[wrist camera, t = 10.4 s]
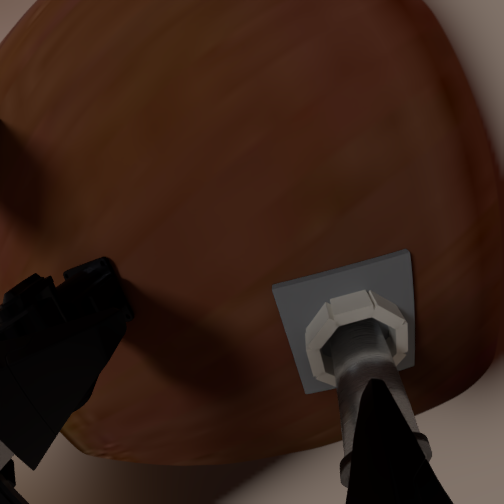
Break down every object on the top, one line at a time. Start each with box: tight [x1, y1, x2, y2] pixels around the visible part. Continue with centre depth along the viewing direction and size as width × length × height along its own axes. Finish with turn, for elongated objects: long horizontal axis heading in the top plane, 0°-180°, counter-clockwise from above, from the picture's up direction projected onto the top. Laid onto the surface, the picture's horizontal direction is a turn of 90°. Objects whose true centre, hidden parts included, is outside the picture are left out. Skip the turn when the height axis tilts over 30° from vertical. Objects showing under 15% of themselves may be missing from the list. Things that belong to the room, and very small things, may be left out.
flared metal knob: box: [329, 317, 432, 488], centre depth 16 cm, size 5×5×13 cm
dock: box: [272, 249, 415, 394], centre depth 22 cm, size 11×12×3 cm
